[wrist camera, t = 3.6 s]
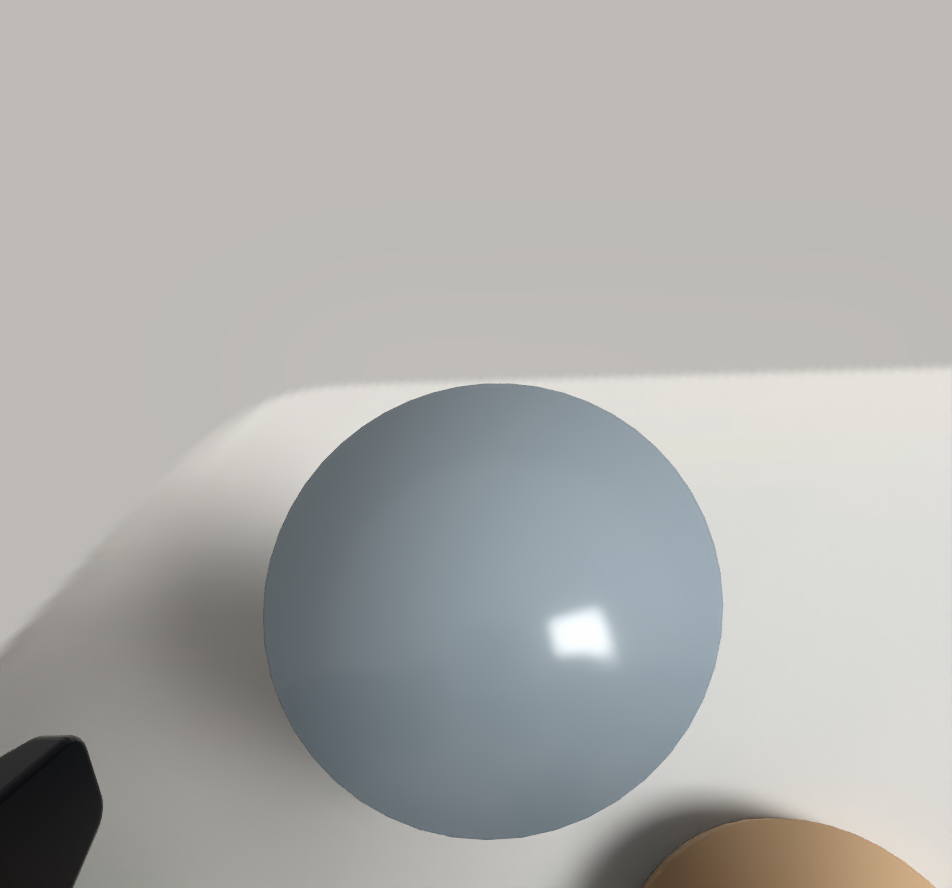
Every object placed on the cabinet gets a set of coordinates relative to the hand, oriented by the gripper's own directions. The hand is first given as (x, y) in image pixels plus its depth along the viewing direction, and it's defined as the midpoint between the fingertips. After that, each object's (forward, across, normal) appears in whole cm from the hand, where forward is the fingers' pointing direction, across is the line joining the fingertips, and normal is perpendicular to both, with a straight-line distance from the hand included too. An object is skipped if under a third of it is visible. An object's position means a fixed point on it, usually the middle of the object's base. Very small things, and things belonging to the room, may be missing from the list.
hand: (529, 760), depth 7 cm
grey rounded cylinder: (+8, 0, +6) cm, 11 cm away
